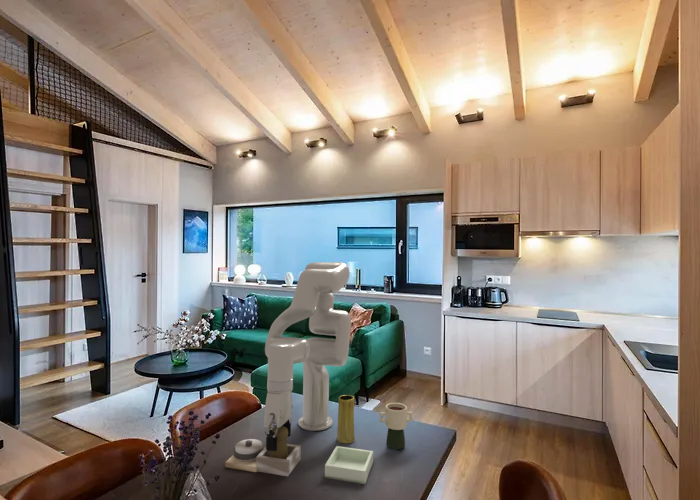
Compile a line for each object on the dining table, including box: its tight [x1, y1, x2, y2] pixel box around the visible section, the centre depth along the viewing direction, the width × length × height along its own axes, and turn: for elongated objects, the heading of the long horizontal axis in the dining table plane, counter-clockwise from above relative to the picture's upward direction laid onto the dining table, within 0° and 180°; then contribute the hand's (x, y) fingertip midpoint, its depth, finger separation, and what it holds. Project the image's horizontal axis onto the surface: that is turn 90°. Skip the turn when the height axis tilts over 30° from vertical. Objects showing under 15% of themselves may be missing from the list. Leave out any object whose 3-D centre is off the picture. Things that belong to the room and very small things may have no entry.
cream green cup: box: [379, 402, 413, 450], centre depth 130 cm, size 11×7×13 cm, turn 95°
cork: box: [270, 426, 289, 459], centre depth 118 cm, size 6×6×11 cm
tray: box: [324, 445, 374, 485], centre depth 115 cm, size 12×12×4 cm
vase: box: [336, 394, 356, 445], centre depth 134 cm, size 6×6×14 cm
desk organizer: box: [225, 438, 302, 477], centre depth 119 cm, size 11×20×6 cm, turn 76°
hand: (278, 442), depth 117 cm, fingers open, 9 cm apart
